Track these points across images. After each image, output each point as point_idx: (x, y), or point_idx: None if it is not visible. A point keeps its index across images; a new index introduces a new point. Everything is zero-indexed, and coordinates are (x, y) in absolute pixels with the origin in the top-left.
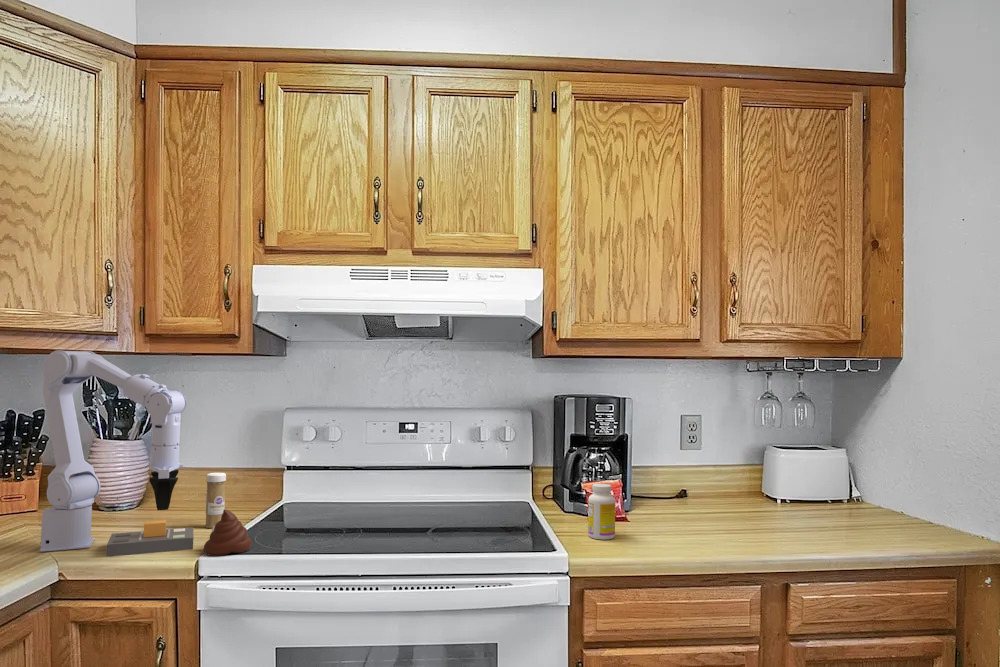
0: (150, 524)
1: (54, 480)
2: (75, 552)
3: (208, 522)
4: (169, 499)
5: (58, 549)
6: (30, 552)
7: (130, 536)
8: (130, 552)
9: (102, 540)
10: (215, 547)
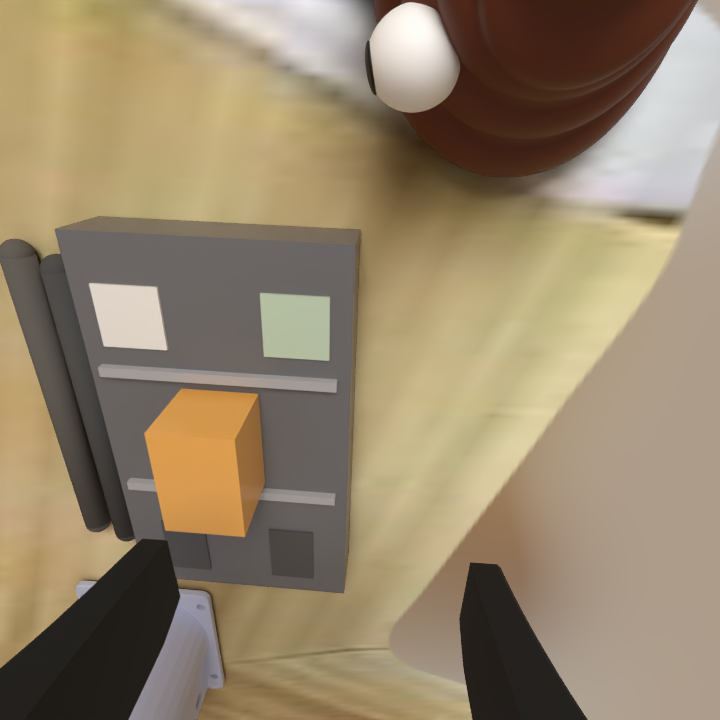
0: (244, 508)
1: None
2: (250, 616)
3: None
4: (547, 664)
5: (219, 655)
6: (213, 692)
7: None
8: (350, 492)
9: (90, 557)
10: (636, 97)
